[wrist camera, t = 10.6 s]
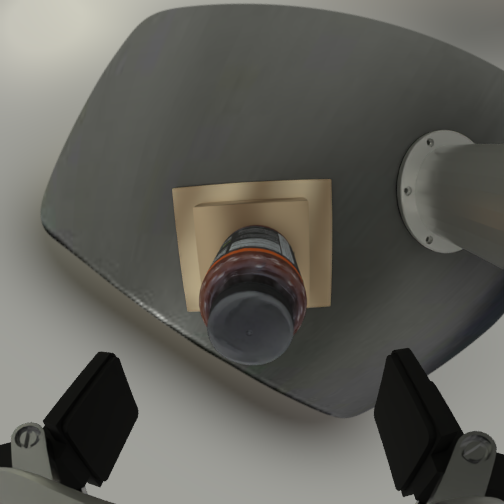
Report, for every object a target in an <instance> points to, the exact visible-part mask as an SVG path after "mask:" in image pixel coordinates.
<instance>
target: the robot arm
mask: <svg viewBox="0 0 504 504" xmlns="http://www.w3.org/2000/svg"><path fill="white" fill-rule="evenodd" d="M427 142H428V145H427ZM404 189H406V192H405V193H404ZM397 199H398V206H399V210H400V214H401V217H402V219H403V222H404V224H405V226H406V228H407V229H408V231H409V232H410V234H411V235H412V236H413V237H414V238H415V239H416V240H417V241H418V242H419V243H420V244H422V245H423V246H425V247H426V248H428V249H430V250H432V251H435V252H439V253H454V252H457V251H460V250H462V249H465V250H466V251H468V252H470V253H472V254H474V255H476V256H478V257H480V258H482V259H484V260H486V261H487V262H489V263H491V264H493V265H495V266H497V267H498V268H500V269H502V270H504V144H474V143H473V142H472V141H471V140H470V139H469V138H468V137H466V136H464V135H462V134H461V133H458V132H455V131H451V130H438V131H433V132H430V133H427V134H425V135H423V136H422V137H420V138H419V139H417V140H416V141H415V142H414V143H413V145H412V146H411V147H410V148H409V149H408V151H407V153H406V155H405V156H404V158H403V161H402V164H401V166H400V169H399V175H398V180H397ZM426 238H427V239H426ZM137 418H138V407H137V405H136V403H135V400H134V398H133V395H132V392H131V390H130V387H129V384H128V382H127V379H126V377H125V373H124V371H123V368H122V365H121V362H120V359H119V358H117V357H116V356H115V354H114V353H107V352H98V353H97V354H96V355H95V357H94V358H93V359H92V360H91V361H90V363H89V364H88V365H87V366H86V368H85V369H84V370H83V371H82V372H81V373H80V375H79V376H78V377H77V378H76V380H75V381H74V382H73V383H72V385H71V386H70V387H69V388H68V389H67V391H66V392H65V393H64V395H63V396H62V397H61V398H60V399H59V401H58V402H57V403H56V405H55V406H54V407H53V408H52V410H51V411H50V412H49V414H48V415H47V416H46V418H45V419H44V420H43V422H44V424H45V426H44V427H43V428H42V427H41V426H40V425H39V424H37V423H32V422H31V423H25V424H22V425H20V426H19V427H17V429H15V430H14V432H13V434H12V437H11V442H10V443H6V444H2V445H0V504H114V503H111V502H108V501H104V500H102V499H99V498H96V497H93V496H90V495H88V494H87V491H86V488H85V484H86V483H87V482H88V483H89V484H92V485H95V486H98V487H101V485H102V483H103V481H106V480H107V479H108V477H109V475H110V473H111V471H112V469H113V467H114V465H115V463H116V461H117V459H118V457H119V454H120V452H121V450H122V448H123V446H124V444H125V442H126V440H127V438H128V436H129V434H130V432H131V430H132V428H133V426H134V423H135V422H136V420H137ZM374 418H375V421H376V424H377V427H378V431H379V434H380V437H381V440H382V443H383V446H384V449H385V453H386V456H387V459H388V463H389V466H390V470H391V473H392V477H393V480H394V484H395V487H396V489H397V490H398V491H400V490H401V491H402V495H403V497H405V496H408V495H412V494H414V496H415V499H416V500H417V502H416V504H504V455H503V454H500V453H497V452H496V450H497V449H496V448H497V447H496V444H495V442H494V440H493V439H492V438H491V437H490V436H489V435H487V434H486V433H483V432H479V431H472V432H468V433H466V434H463V432H462V430H461V428H460V426H459V424H458V423H457V421H456V419H455V417H454V416H453V414H452V412H451V411H450V409H449V407H448V405H447V404H446V402H445V400H444V399H443V397H442V395H441V393H440V392H439V390H438V389H437V387H436V385H435V384H434V383H433V382H432V381H430V380H429V378H428V377H427V375H426V373H425V372H424V370H423V368H422V367H421V365H420V364H419V362H418V361H417V359H416V357H415V356H414V354H413V353H412V351H411V350H410V349H409V348H405V349H398V350H393V351H392V353H391V355H388V356H387V359H386V363H385V368H384V372H383V377H382V381H381V385H380V389H379V393H378V397H377V401H376V405H375V408H374Z"/></svg>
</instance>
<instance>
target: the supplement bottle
mask: <svg viewBox="0 0 504 504" xmlns="http://www.w3.org/2000/svg"><path fill="white" fill-rule="evenodd" d="M199 308H200V313H201V316H202V319H203V321H204V323H205V325H206V326H207V331H208V336H209V339H210V341H211V343H212V345H213V346H214V348H215V349H216V350H217V351H218V352H219V353H220V354H221V355H222V356H223V357H225V358H227V359H229V360H231V361H233V362H236V363H239V364H244V365H260V364H265V363H268V362H271V361H273V360H274V359H276V358H278V357H279V356H280V355H282V354H283V353H284V352H285V351H286V349H287V348H288V347H289V345H290V343H291V341H292V338H293V335H294V334H295V333H296V332H297V330H298V329H299V328H300V326H301V324H302V322H303V320H304V317H305V314H306V308H307V296H306V290H305V287H304V282H303V279H302V277H301V274H300V271H299V268H298V265H297V262H296V259H295V255H294V253H293V250H292V247H291V246H290V244H289V243H288V241H287V240H286V239H285V237H284V236H283V235H282V234H280V233H279V232H278V231H276V230H275V229H272V228H270V227H267V226H263V225H250V226H245V227H242V228H240V229H238V230H236V231H235V232H233V233H232V234H231V235H230V236H229V237H228V238H227V239H226V240H225V241H224V243H223V245H222V246H221V248H220V250H219V252H218V253H217V255H216V257H215V259H214V261H213V263H212V264H211V266H210V268H209V270H208V271H207V274H206V276H205V277H204V280H203V282H202V285H201V289H200V294H199Z"/></svg>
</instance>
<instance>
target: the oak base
mask: <svg viewBox="0 0 504 504" xmlns="http://www.w3.org/2000/svg"><path fill="white" fill-rule="evenodd" d="M172 192H173V202H174V212H175V222H176V231H177V239H178V247H179V255H180V263H181V270H182V277H183V284H184V291H185V298H186V304H187V310H188V312H194V311H200V308H199V294H200V289H201V285H202V282H203V280H204V277H205V276H206V274H207V271H208V270H209V268H210V266H211V264H212V263H213V261H214V259H215V257H216V255H217V253H218V252H219V250H220V248H221V246H222V245H223V243H224V241H225V240H226V239H227V238H228V237H229V236H230V235H231V234H232V233H233V232H235V231H236V230H238V229H240V228H242V227H245V226H250V225H263V226H267V227H270V228H272V229H275V230H276V231H278V232H279V233H280V234H282V235H283V236H284V237H285V239H286V240H287V241H288V243H289V244H290V246H291V247H292V250H293V253H294V255H295V259H296V262H297V265H298V268H299V271H300V274H301V277H302V279H303V282H304V287H305V290H306V296H307V308H310V307H325V306H330V303H331V276H332V190H331V179H305V180H277V181H257V182H240V183H226V184H213V185H201V186H190V187H180V188H173V189H172Z"/></svg>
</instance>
